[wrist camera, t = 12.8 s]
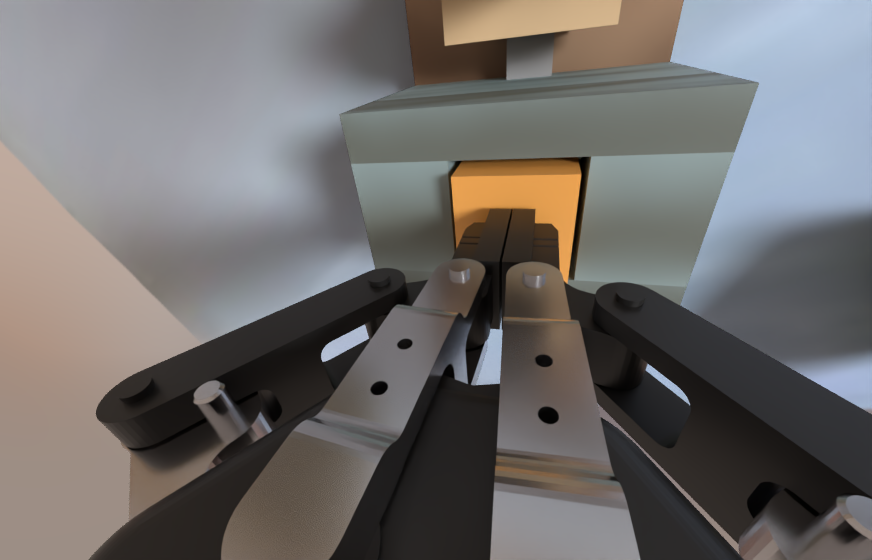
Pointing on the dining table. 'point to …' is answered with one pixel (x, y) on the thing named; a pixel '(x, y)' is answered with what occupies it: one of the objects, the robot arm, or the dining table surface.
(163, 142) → the dining table surface
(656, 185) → the rail rig
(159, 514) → the robot arm
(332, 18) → the dining table surface
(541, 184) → the button
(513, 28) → the carriage
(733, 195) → the dining table surface
